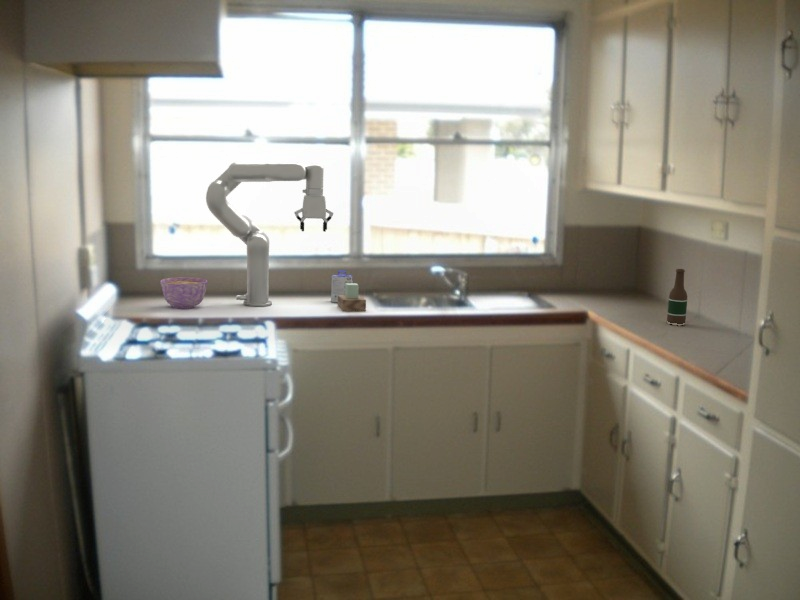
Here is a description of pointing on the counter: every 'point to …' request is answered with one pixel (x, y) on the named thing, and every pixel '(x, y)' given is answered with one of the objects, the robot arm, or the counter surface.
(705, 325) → the counter surface
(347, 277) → the ink cartridge box
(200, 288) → the bowl of food
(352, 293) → the pale green block
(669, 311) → the beer bottle
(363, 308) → the brown wooden block
